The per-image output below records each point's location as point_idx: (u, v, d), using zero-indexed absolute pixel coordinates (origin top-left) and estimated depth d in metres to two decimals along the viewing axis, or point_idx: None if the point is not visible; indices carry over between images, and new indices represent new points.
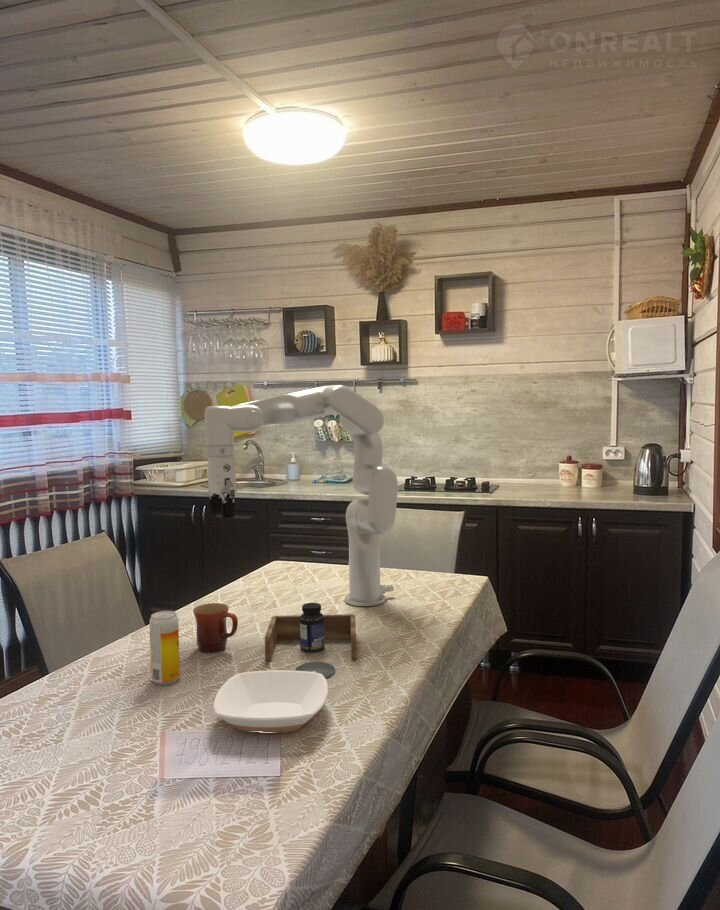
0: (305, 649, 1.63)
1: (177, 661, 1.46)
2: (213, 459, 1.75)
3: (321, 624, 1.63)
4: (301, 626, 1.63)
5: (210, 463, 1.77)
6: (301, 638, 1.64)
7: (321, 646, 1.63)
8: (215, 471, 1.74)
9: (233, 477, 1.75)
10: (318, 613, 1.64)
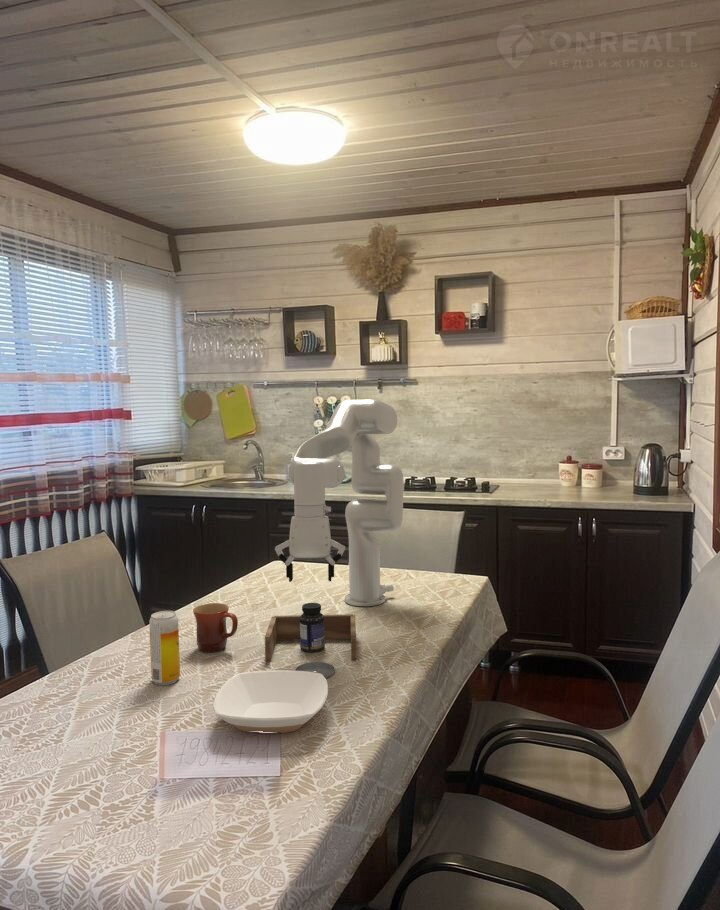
0: (305, 649, 1.63)
1: (177, 661, 1.46)
2: (316, 520, 1.60)
3: (321, 624, 1.63)
4: (301, 626, 1.63)
5: (306, 525, 1.60)
6: (301, 638, 1.64)
7: (321, 646, 1.63)
8: (321, 532, 1.61)
9: None
10: (318, 613, 1.64)
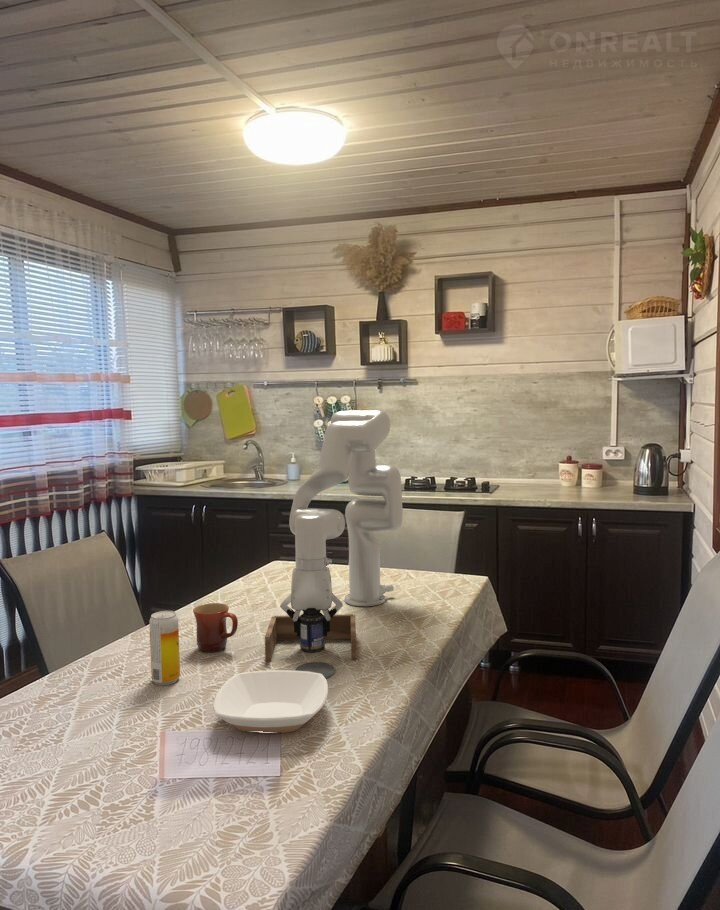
0: (305, 649, 1.63)
1: (177, 661, 1.46)
2: (317, 573, 1.61)
3: (321, 624, 1.63)
4: (301, 625, 1.63)
5: (307, 578, 1.61)
6: (301, 638, 1.64)
7: (321, 646, 1.63)
8: (322, 585, 1.62)
9: None
10: (318, 613, 1.64)
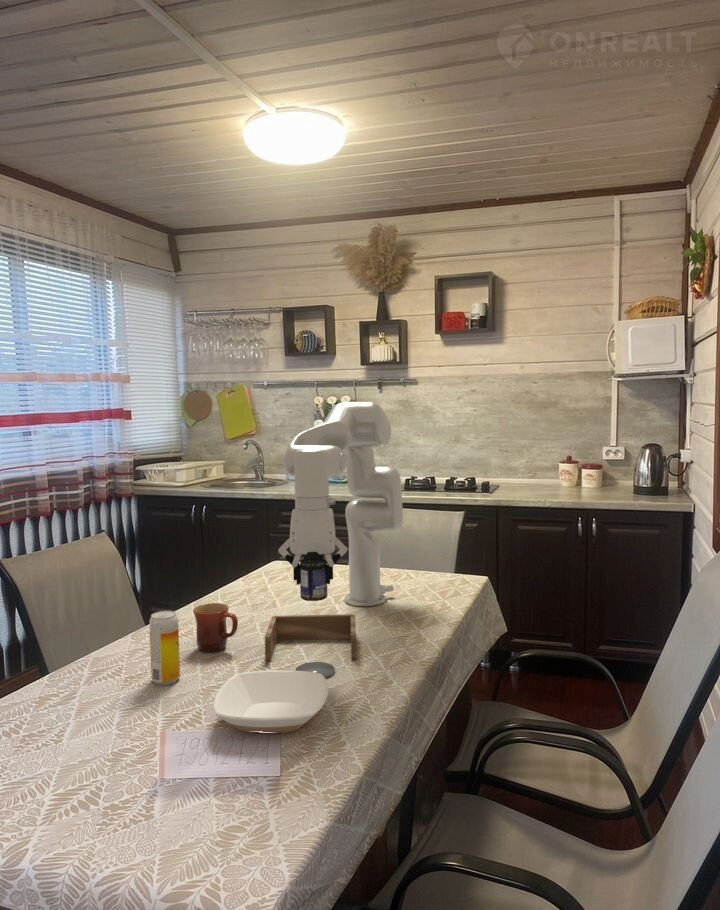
0: (306, 598, 1.47)
1: (177, 661, 1.46)
2: (319, 513, 1.45)
3: (323, 570, 1.47)
4: (302, 572, 1.47)
5: (308, 519, 1.45)
6: (301, 586, 1.48)
7: (323, 594, 1.47)
8: (324, 527, 1.46)
9: None
10: (320, 558, 1.48)
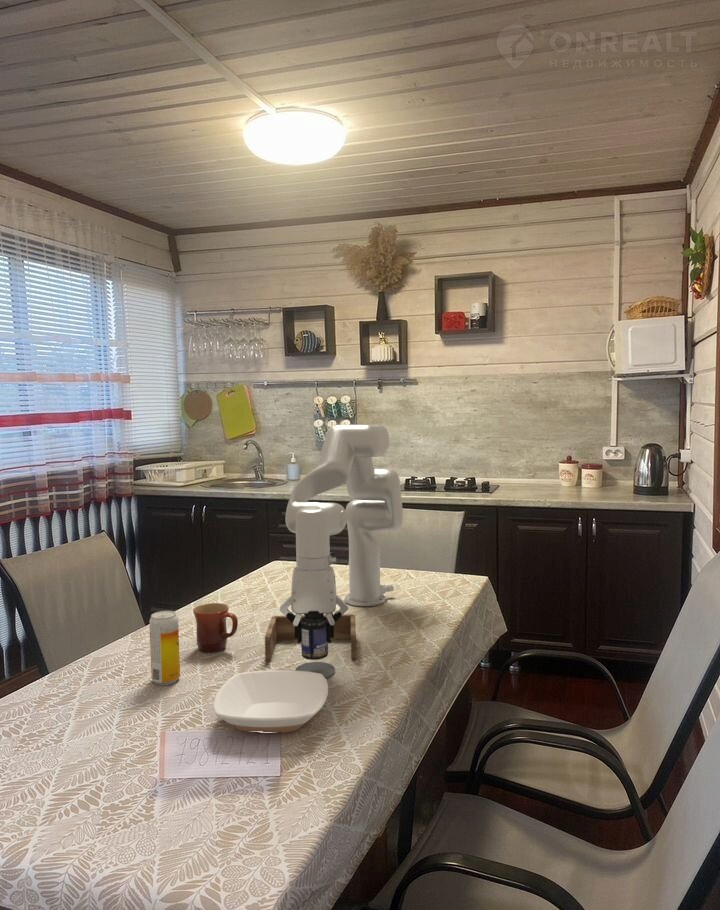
0: (307, 656, 1.48)
1: (177, 661, 1.46)
2: (320, 573, 1.47)
3: (324, 629, 1.48)
4: (303, 631, 1.48)
5: (309, 579, 1.47)
6: (302, 644, 1.49)
7: (324, 653, 1.48)
8: (325, 586, 1.47)
9: None
10: (321, 617, 1.49)
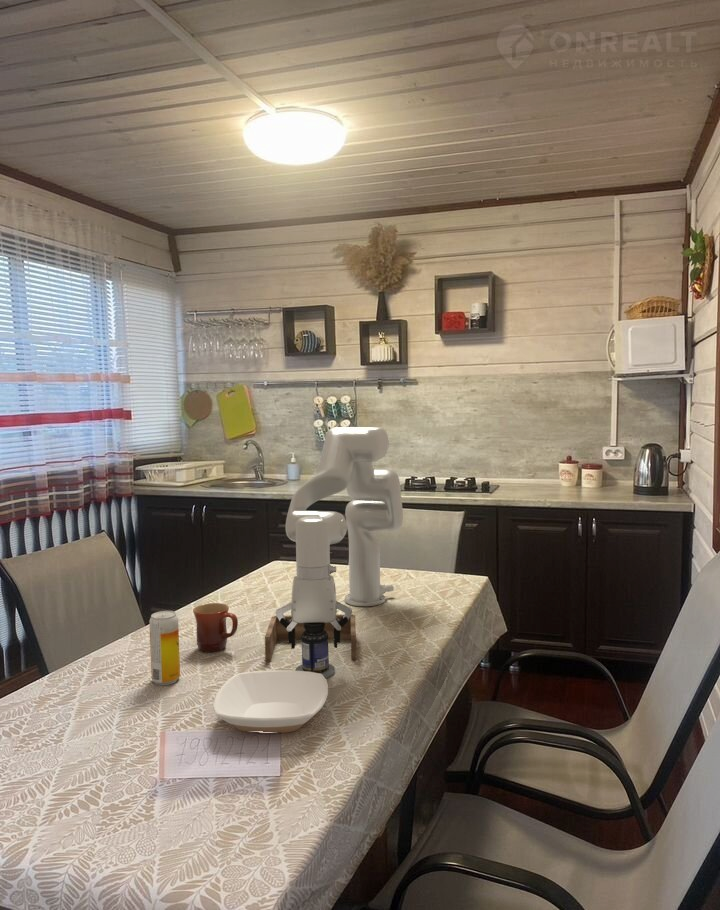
0: (307, 670, 1.48)
1: (177, 661, 1.46)
2: (320, 582, 1.47)
3: (325, 643, 1.49)
4: (303, 644, 1.49)
5: (309, 588, 1.47)
6: (303, 658, 1.49)
7: (324, 667, 1.49)
8: (325, 595, 1.47)
9: None
10: (322, 631, 1.49)
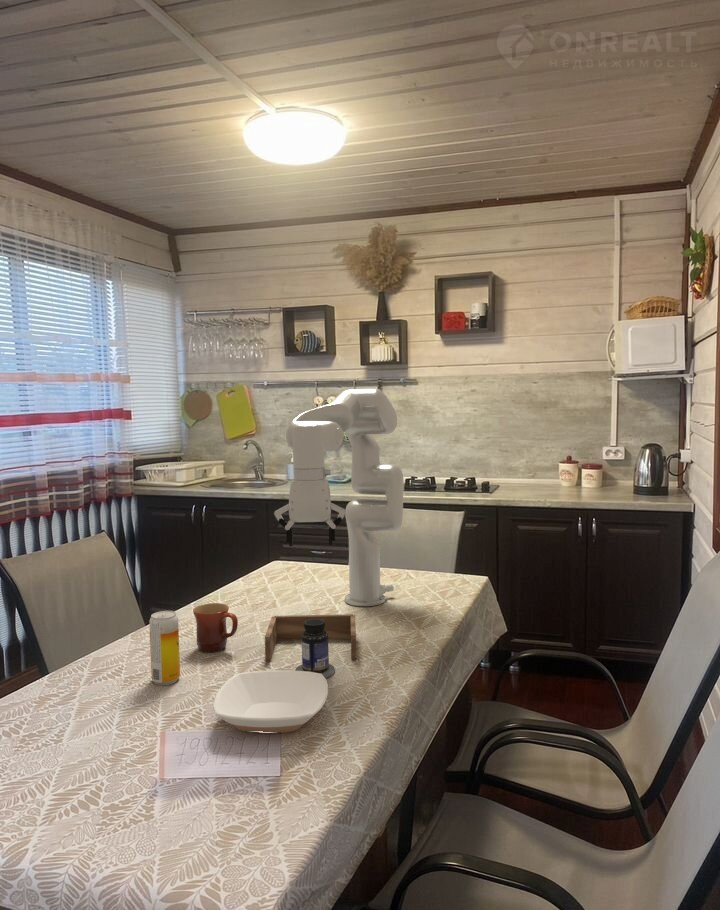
0: (307, 670, 1.48)
1: (177, 661, 1.46)
2: (315, 483, 1.57)
3: (325, 643, 1.49)
4: (303, 644, 1.49)
5: (305, 488, 1.57)
6: (303, 658, 1.49)
7: (324, 667, 1.49)
8: (321, 496, 1.58)
9: None
10: (322, 631, 1.49)
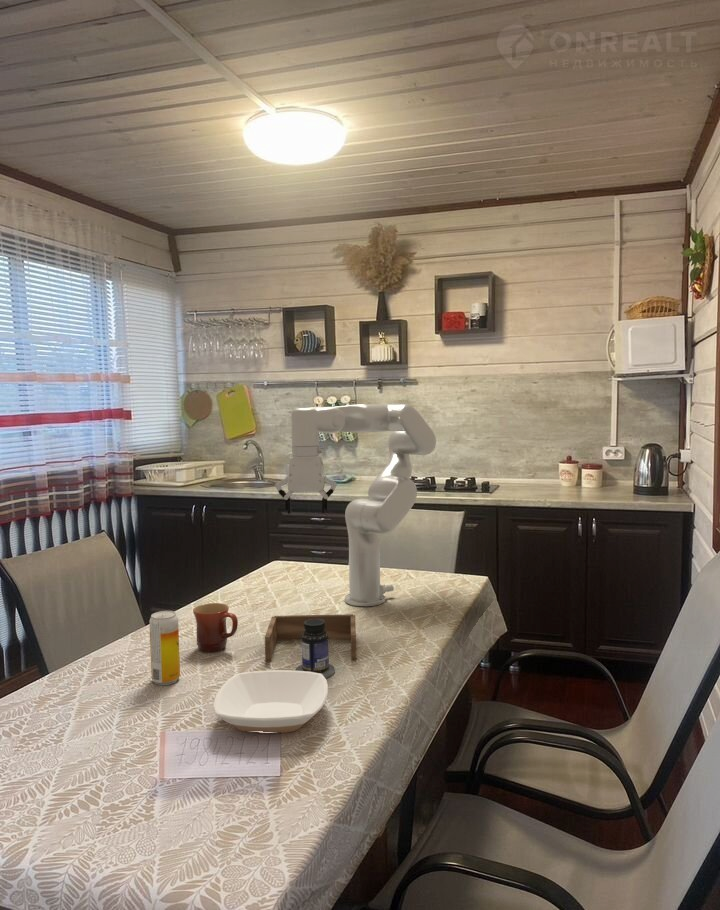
0: (307, 670, 1.48)
1: (177, 661, 1.46)
2: (310, 459, 1.83)
3: (325, 643, 1.49)
4: (303, 644, 1.49)
5: (302, 463, 1.83)
6: (303, 658, 1.49)
7: (324, 667, 1.49)
8: (315, 470, 1.83)
9: None
10: (322, 631, 1.49)
